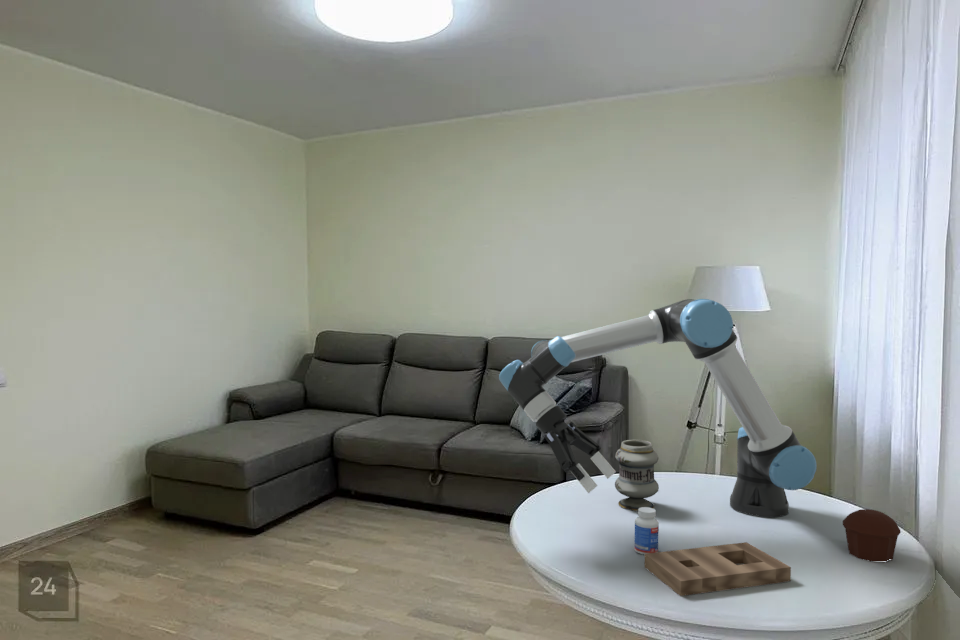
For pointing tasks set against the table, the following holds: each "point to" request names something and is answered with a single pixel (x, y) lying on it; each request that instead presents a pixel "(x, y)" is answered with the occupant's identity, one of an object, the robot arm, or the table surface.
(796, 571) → the table surface
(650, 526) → the pill bottle
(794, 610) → the table surface
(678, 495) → the table surface
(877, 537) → the muffin
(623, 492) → the apothecary jar
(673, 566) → the socket board
